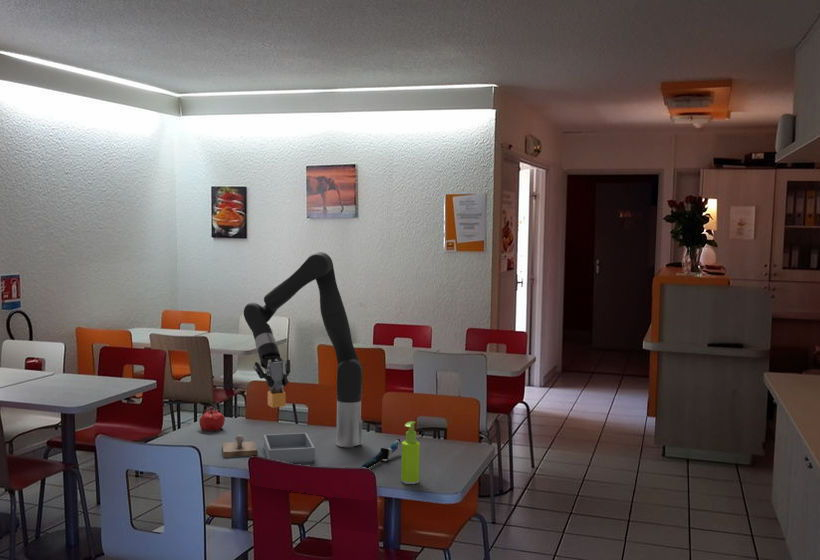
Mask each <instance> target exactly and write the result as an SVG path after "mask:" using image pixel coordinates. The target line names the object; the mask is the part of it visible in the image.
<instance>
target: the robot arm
mask: <svg viewBox="0 0 820 560" xmlns="http://www.w3.org/2000/svg"><path fill="white" fill-rule="evenodd" d="M334 268H335V267H334V263H333V260H332V258H331V256H330V255H329V254H327V253H326V252H322V251H321V252H320V251H319V252H315V253H313V254H311V255H309V256H308V257H307V259H306V260H305V261H304V262H303V263H302V264H301V265H300V266H299V268H298V269H297V270H295V272H293V273H292V274H291V275H290V276H289V277H287V278H286V279H285V280H284V281H282V282H281V283H279V284H278V285H277V286H275V287H274V288H272V290H270V291H269V292H267V294H266V295H264V297H263V302H264V305H263V306H262V305H260V304H259V303H256V302H249V303H247V304H246V305H245V306H244V309H243V317H244V318H243V319H244V320H245V322H246V323H247V326H248V327H249V329H250V331H251V333H252V335H253V339H254V343H255V344H254V345H255V347H256V348H255V349H256V351H257V355H258V357H259V361H260V362H257V361H255V362H254V365H253V370H254V371H255V372H256V374H257V375H258V377H259V379H262V380H263V379H265V382H266V386H267V387H269V389H270V388H272V386H273V383H272V379H271V377H270V362H271V361H283V387H286V386H288V383H289V380H288V377H289V376H290V373H291V360H290V359H287V360H285V359H283V358H282V357H281V354H280V351H279V348H278V344H277V341H276V339H275V336H274V334H273V331H272V328H271V326H270V324H269V323H268V322H269V321H270V320H271V319H272V318H273V316H274V315H275V313H276V312H277V310H279V309H280V308H281V307H282V306H284V305H285V304H286V303H287V302H288V301H289V300H291V299H292V298H293V297H294V296H295V295H296V294H297V293H299V291H300V290H301V289H302V288H304V287H305V286H307V285H308V284H310V283H312V282H313V281H316V284H317V287H318V292H319V309H320V314H321V315H320V316H321V320H322V323H323V325H324V329H325V331H326V334H327V336H328V338H329V340H330V342H331V344H332V346H333V348H334V351H335V356H336V362H337V370H336V371H337V372H336V433H335V434H336V439H335V440H336V446H338V447H341V448H355V447H354V446H357V445H361V444H362V445H363V443H362V441H363V439H362V438H363V422H362V377H363V376H362V374H363V373H362V371H363V368H362V364H361V361H360V359H359V357H358V354H357V352H356V350H355V347H354V343H353V340H352V333H351V329H350V324H349V319H348V315H347V311H346V309H345V305H344V303H343V299H342V296H341V293H340V290H339V288H338V284H337V280H336V273H335V269H334ZM263 369H264V370H265V372H264V371H263ZM357 447H358V446H357Z"/></svg>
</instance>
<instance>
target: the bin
mask: <svg viewBox="0 0 820 560" xmlns="http://www.w3.org/2000/svg"><path fill="white" fill-rule="evenodd" d="M315 449H316V447H315V445H314V444H313V442H312V440H311V438H310V436H309V435H308V433H307V432H296V433H293V432H292V433H275V434H274V433H271V434H263V451H264V450H265V451H264V454H265V456H266V459H267V458H270V459H274V460H279V461H285V462H291V463H290V464H297V463H298V464H301V463H315V462H316V461H315V459H316V458H315V457H316V454H315V453H316V450H315Z"/></svg>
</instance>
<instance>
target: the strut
mask: <svg viewBox="0 0 820 560" xmlns="http://www.w3.org/2000/svg"><path fill="white" fill-rule="evenodd" d="M283 369H284V365H283V361H271V362H270V375H269V376H270V377H271V379H272V383H273V386H272V388H270V387H269V391H268V390H267V406H269V407H271V408H273V409H274V408H282V407H286V406H287V405H286V402H287V401H286V400H287V398H286V396H287V395H286V392H285V391H284V385H283Z"/></svg>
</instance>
